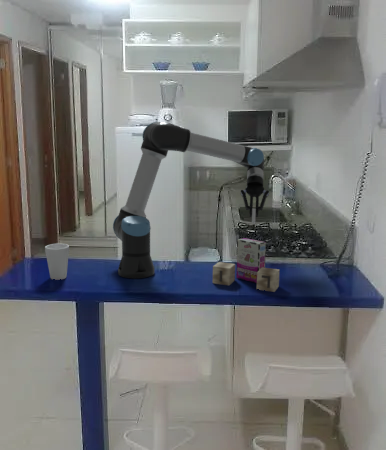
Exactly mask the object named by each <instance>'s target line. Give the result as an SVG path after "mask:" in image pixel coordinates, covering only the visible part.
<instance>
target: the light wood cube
mask: <svg viewBox="0 0 386 450" xmlns="http://www.w3.org/2000/svg"><path fill="white" fill-rule="evenodd" d="M279 286H280V269H277V268H271V267H270V268H269V267H265V268H264V267H262V268H261V269H260V270H259V271H258V272H257V283H256V290H257V289H259V290H260V291H264V290H265V291H266V292H273V293H275V292H276V291H277V290H278V288H279ZM259 290H258V291H259Z"/></svg>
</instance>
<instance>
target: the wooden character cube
mask: <svg viewBox="0 0 386 450" xmlns="http://www.w3.org/2000/svg"><path fill="white" fill-rule="evenodd" d="M235 280H236V263H231V262H223V261H218V262H217V263H215V264H214V265H212V284H216V285H223V286H230V285H232V284H233V283H234V282H235Z"/></svg>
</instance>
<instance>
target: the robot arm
mask: <svg viewBox="0 0 386 450" xmlns="http://www.w3.org/2000/svg"><path fill="white" fill-rule="evenodd" d="M140 150H141V152H142V155H141V158H140V160H139V163H138V167H137V170H136V172H135V175H134V176H135V177H134V179H133V181H132V183H131V188H130V191H129V194H128V197H127V200H126V203H125V205H124V206H122V207H121V208H120V210H119V213H118V215H117V216H116V217H115V218H114V220H113V223H112V229H113V232H114V234H115V236H116V237H117V239H119V240H120V241H121V259H120V262H119V265H118V267H117V268H118V269H117V271H118V272H117V274H118V276H120V277H122V278H126V279H144V278H149V277H152V276H154V274H155V265H154V261H153V260H152V256H151V229H152V227H151V223H150V220H149V219H148V218H147V215H146V213H145V212H146V211H145V210H146V208H147V204H148V202H149V199H150V195H151V193H152V190H153V186H154V183H155V180H156V177H157V174H158V171H159V169H160V166H161V162H162V160H164V159H166V158H167V156H168V152H169V151H171V152H179V153H180V152H181V153H186V152H192V153H196V154H200V155H206V156H209V157H214V158H218V159H222V160H226V161H231V162H234V163H237V164H238V165H241V166H242V167H244V168H246V187H245V189H241V190H240V196H241V197H242V199H243V204H244V207H245V210H246V211H249V217H250V218H251V224H252V225H256V218H258V217H259V212H261V211H263V209H264V206H265V203H266V200H267V198H268V197H269V196H270V195H269V194H270V191H269V190H265V188H264V173H265V171H264V169H265V155H264V152H263V151H262V150H261V149H260V148H257V147H251V146H247V145H243V144H240V143H239V144H238V143H235V142H230V141H226V140H222V139H218V138H214V137H209V136H206V135H201V134H198V133H194V132H191V130H190V129H188V128H184V127H182V126H178V125H176V124H173V123H170V122H168V121H154V122H151V123H149V124H147V125H146V127H144V130H143V132H142V143H141V146H140ZM246 194H247V195H248V196H249V203H248V200H247V199H248V198H247V195H246ZM262 195H263V196H262ZM260 196H262V198H261V202H260V201H259V200H260ZM254 198H255V208H254V207H253V205H254ZM259 202H260V204H259Z"/></svg>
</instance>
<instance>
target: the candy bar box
mask: <svg viewBox="0 0 386 450" xmlns="http://www.w3.org/2000/svg"><path fill="white" fill-rule="evenodd" d="M266 254H267V241H262V240H256V239H252V238H245V237H243V238H239V239H237V246H236V272H235V279H239V280H241V281H246V282H250V283H254V284H257V272H258V271H259V270H260V269H261V268H262V267H264V268H266Z"/></svg>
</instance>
